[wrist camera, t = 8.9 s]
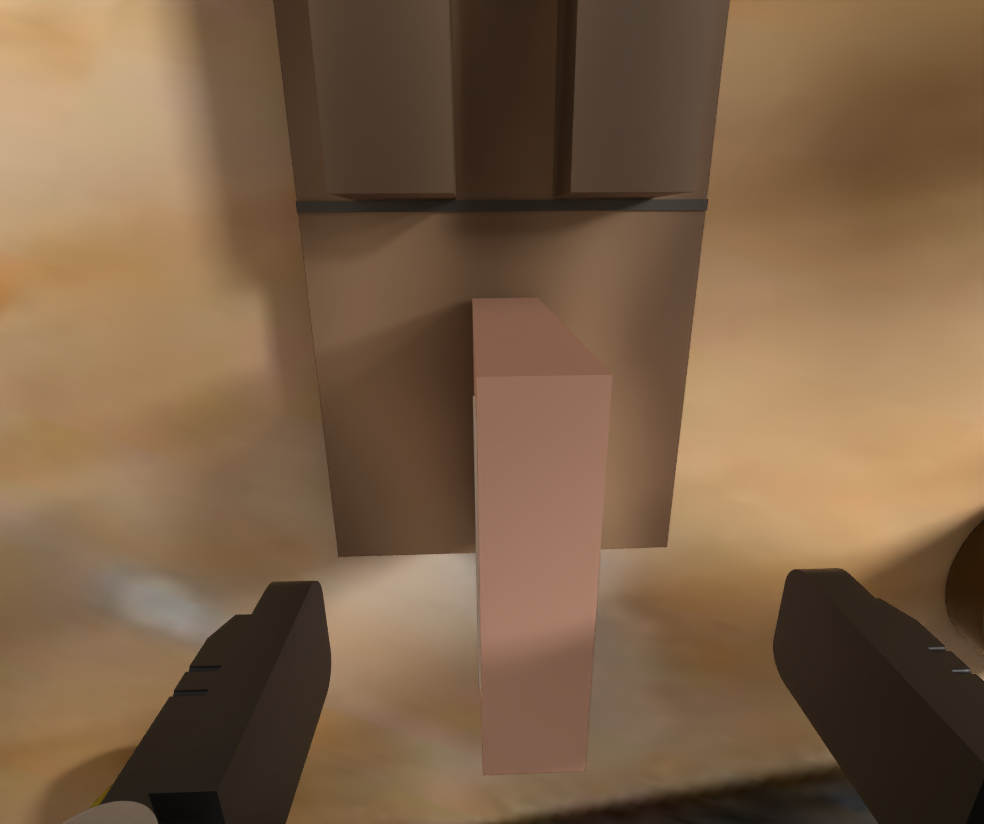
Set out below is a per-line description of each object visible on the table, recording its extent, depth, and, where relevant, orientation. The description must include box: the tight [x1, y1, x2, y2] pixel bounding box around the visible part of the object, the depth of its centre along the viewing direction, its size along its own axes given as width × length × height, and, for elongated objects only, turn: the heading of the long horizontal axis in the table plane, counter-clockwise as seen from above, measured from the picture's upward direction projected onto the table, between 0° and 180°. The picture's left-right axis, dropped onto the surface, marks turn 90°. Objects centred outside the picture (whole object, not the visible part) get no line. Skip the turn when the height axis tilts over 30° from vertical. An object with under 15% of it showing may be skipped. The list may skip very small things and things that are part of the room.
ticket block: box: [273, 0, 729, 557], centre depth 16 cm, size 12×22×5 cm, turn 0°
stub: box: [472, 298, 612, 775], centre depth 13 cm, size 2×8×9 cm, turn 1°
